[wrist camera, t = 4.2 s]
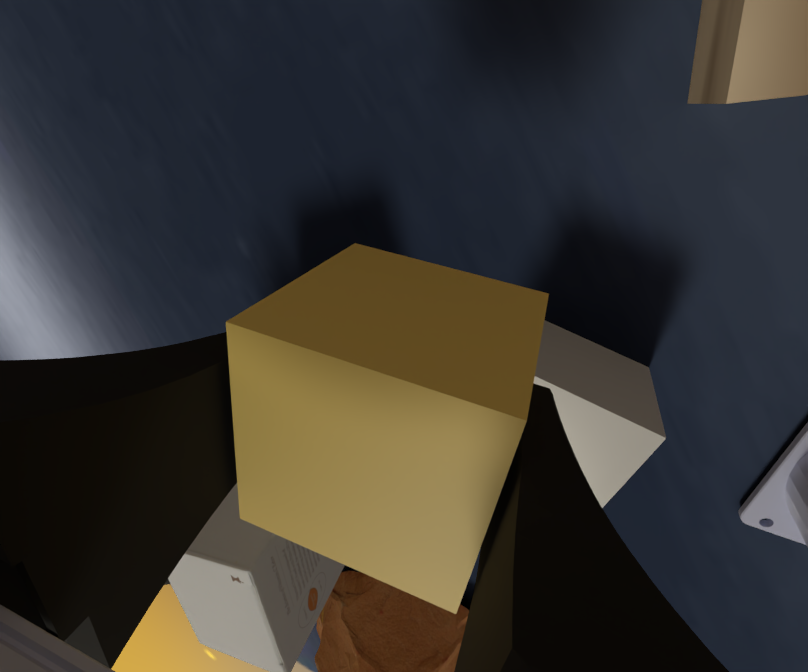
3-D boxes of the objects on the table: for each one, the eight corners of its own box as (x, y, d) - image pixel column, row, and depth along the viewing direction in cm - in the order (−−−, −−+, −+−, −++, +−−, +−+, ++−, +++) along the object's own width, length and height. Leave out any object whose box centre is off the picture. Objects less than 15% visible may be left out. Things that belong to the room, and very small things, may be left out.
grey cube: (648, 366, 19) (666, 438, 15) (589, 442, 22) (590, 521, 18) (541, 317, 20) (530, 374, 16) (496, 397, 23) (476, 462, 19)
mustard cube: (548, 293, 10) (527, 421, 6) (496, 448, 13) (456, 614, 9) (354, 242, 12) (225, 322, 7) (341, 394, 14) (240, 517, 10)
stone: (339, 611, 42) (248, 685, 34) (390, 490, 38) (299, 542, 29) (467, 755, 35) (390, 893, 27) (549, 627, 30) (487, 746, 22)
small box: (279, 405, 29) (144, 538, 20) (358, 416, 27) (247, 571, 18) (302, 497, 32) (195, 646, 23) (373, 513, 30) (287, 682, 21)
